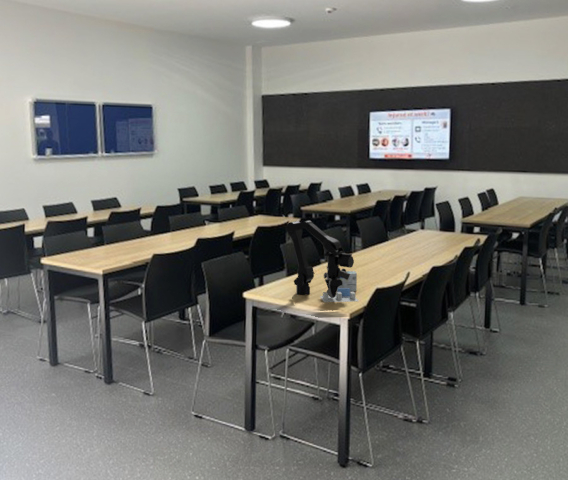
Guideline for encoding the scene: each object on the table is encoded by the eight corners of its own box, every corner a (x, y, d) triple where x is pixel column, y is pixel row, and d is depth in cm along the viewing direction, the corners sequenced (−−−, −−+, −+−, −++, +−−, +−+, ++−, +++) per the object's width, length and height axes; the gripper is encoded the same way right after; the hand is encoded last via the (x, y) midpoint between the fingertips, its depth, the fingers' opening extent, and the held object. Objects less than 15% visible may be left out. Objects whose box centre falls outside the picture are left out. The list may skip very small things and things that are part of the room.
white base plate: (323, 303, 298) (323, 294, 298) (319, 297, 310) (319, 288, 309) (359, 303, 300) (359, 293, 300) (353, 297, 312) (353, 287, 311)
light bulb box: (354, 289, 328) (355, 270, 327) (356, 292, 322) (357, 273, 320) (335, 289, 328) (335, 270, 326) (337, 292, 321) (337, 273, 320)
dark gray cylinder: (336, 296, 302) (334, 290, 301) (330, 298, 301) (328, 292, 301) (334, 293, 307) (332, 287, 307) (328, 296, 307) (325, 289, 307)
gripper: (353, 268, 294) (352, 299, 296) (344, 261, 312) (344, 290, 314) (330, 269, 292) (330, 300, 295) (323, 261, 311) (323, 291, 313)
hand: (332, 295), depth 304 cm, fingers closed on dark gray cylinder, 6 cm apart
